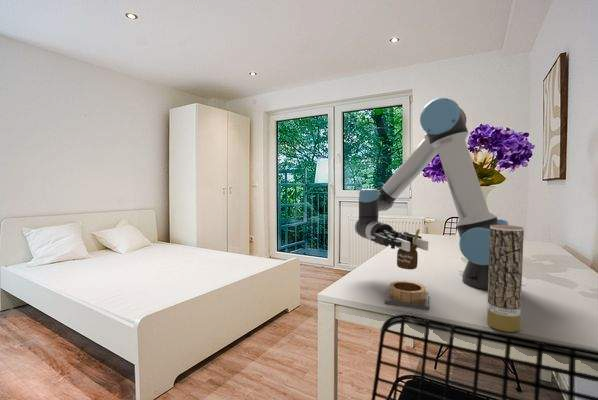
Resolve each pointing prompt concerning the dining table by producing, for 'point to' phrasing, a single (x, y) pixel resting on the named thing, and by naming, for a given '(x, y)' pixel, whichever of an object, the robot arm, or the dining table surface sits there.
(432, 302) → the dining table surface
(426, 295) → the collar plate
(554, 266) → the dining table surface
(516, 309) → the paper tube
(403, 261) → the utensil holder
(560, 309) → the dining table surface
